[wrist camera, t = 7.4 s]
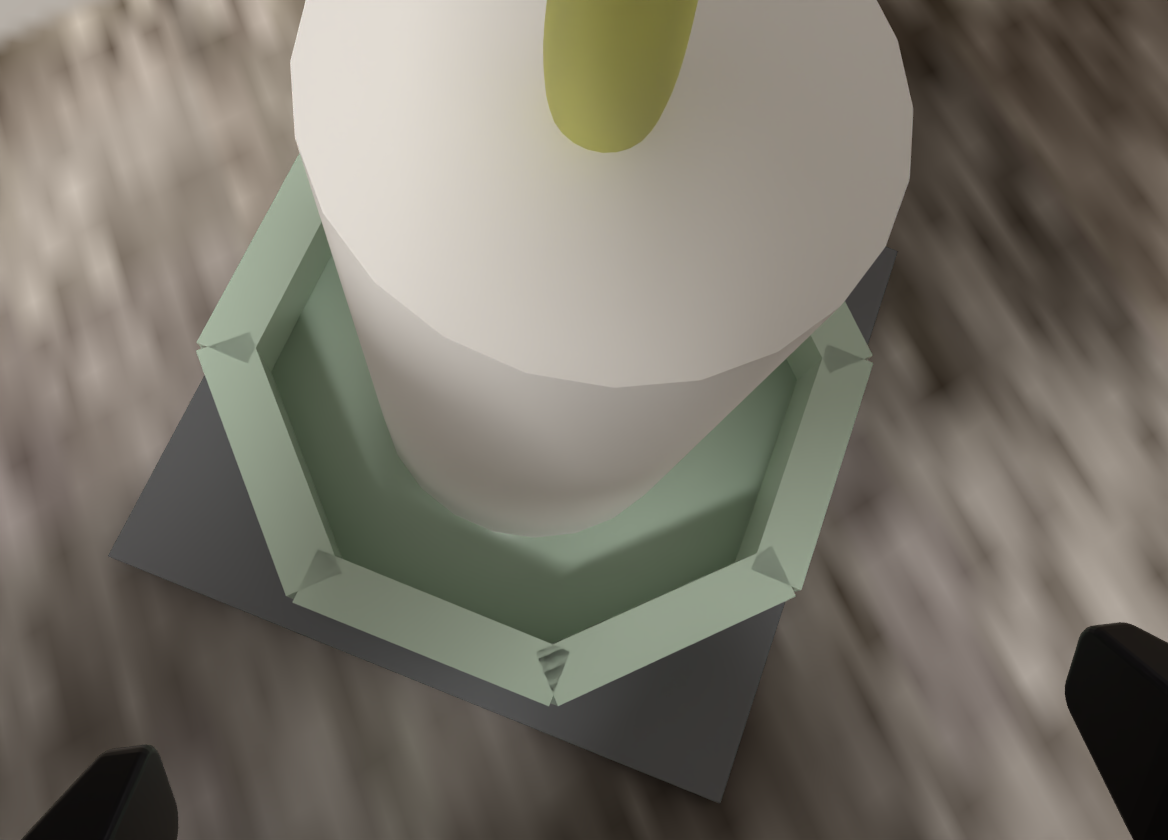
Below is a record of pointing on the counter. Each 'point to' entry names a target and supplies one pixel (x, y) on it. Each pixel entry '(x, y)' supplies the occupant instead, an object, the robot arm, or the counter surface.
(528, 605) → the dish
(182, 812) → the counter surface
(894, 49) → the candle
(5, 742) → the counter surface
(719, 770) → the mat
